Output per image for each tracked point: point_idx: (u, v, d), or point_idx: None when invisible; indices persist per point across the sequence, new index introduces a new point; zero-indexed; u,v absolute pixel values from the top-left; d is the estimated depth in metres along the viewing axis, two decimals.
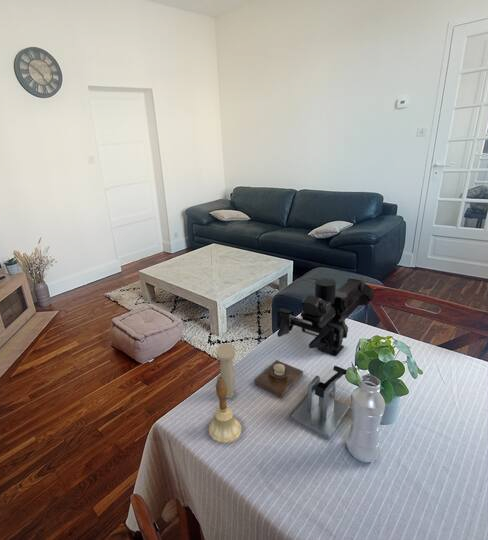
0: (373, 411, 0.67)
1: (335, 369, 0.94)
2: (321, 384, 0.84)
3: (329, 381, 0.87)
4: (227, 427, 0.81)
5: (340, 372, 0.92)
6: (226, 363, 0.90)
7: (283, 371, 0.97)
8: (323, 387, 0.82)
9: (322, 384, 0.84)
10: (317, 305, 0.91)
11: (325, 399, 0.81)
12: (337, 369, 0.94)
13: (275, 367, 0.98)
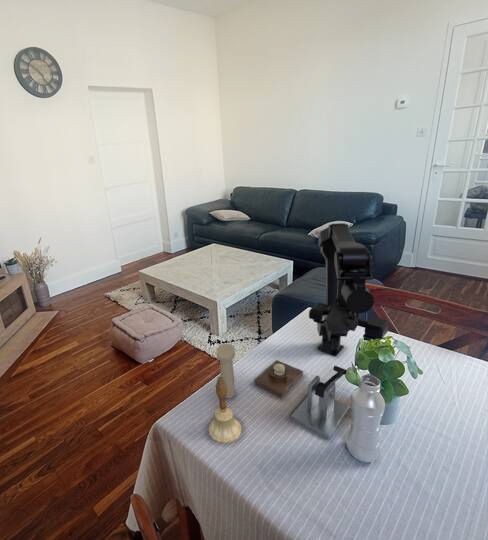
0: (373, 411, 0.67)
1: (335, 369, 0.94)
2: (321, 384, 0.84)
3: (329, 381, 0.87)
4: (227, 427, 0.81)
5: (340, 372, 0.92)
6: (226, 363, 0.90)
7: (283, 371, 0.97)
8: (323, 387, 0.82)
9: (322, 384, 0.84)
10: (345, 331, 0.81)
11: (325, 399, 0.81)
12: (337, 369, 0.94)
13: (275, 367, 0.98)
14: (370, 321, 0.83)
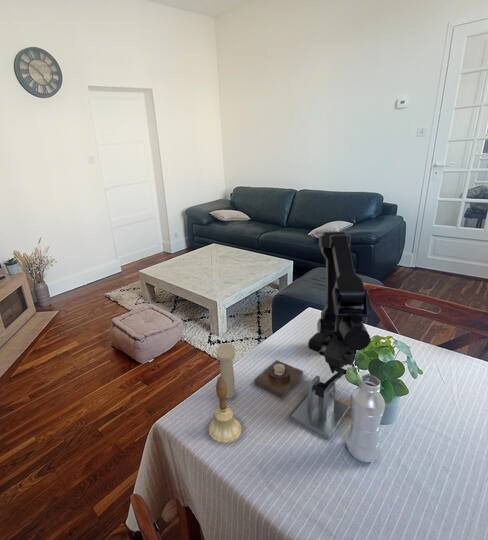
0: (373, 411, 0.67)
1: (335, 369, 0.94)
2: (321, 384, 0.84)
3: (329, 381, 0.87)
4: (227, 427, 0.81)
5: (340, 372, 0.92)
6: (226, 363, 0.90)
7: (283, 371, 0.97)
8: (323, 387, 0.82)
9: (322, 384, 0.84)
10: (342, 365, 0.85)
11: (325, 399, 0.81)
12: (337, 369, 0.94)
13: (275, 367, 0.98)
14: None
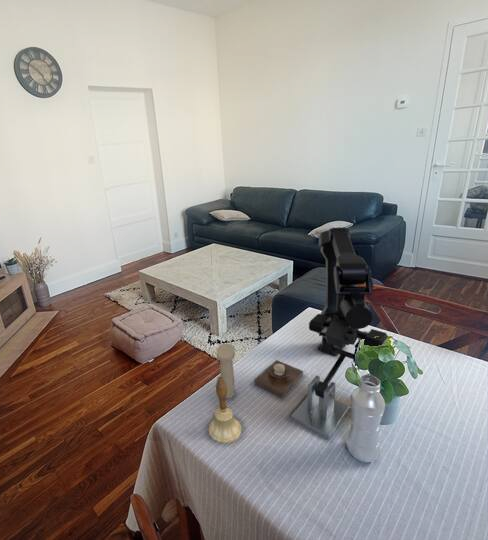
0: (373, 411, 0.67)
1: (336, 352, 0.92)
2: (320, 385, 0.83)
3: (329, 375, 0.86)
4: (227, 427, 0.81)
5: (341, 357, 0.90)
6: (226, 363, 0.90)
7: (283, 371, 0.97)
8: (322, 389, 0.82)
9: (321, 384, 0.83)
10: (344, 345, 0.83)
11: (325, 399, 0.81)
12: (338, 352, 0.92)
13: (275, 367, 0.98)
14: (369, 334, 0.84)
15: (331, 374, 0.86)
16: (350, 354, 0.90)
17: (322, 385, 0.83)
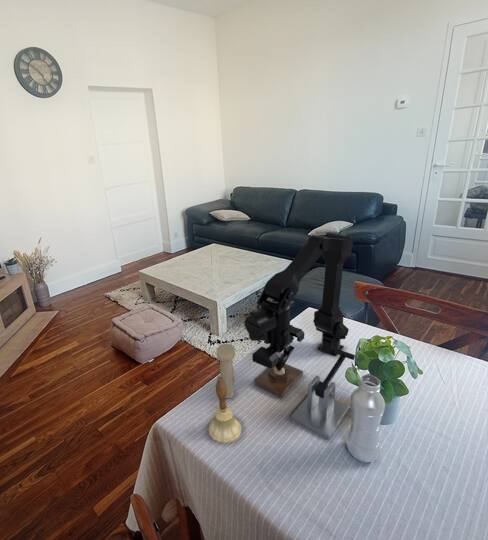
0: (373, 411, 0.67)
1: (336, 353, 0.92)
2: (320, 385, 0.83)
3: (329, 375, 0.86)
4: (227, 427, 0.81)
5: (341, 357, 0.90)
6: (226, 363, 0.90)
7: (283, 374, 0.97)
8: (322, 389, 0.82)
9: (321, 384, 0.83)
10: None
11: (325, 399, 0.81)
12: (338, 353, 0.92)
13: (275, 370, 0.98)
14: (265, 349, 0.91)
15: (331, 374, 0.86)
16: (350, 355, 0.90)
17: (322, 385, 0.83)
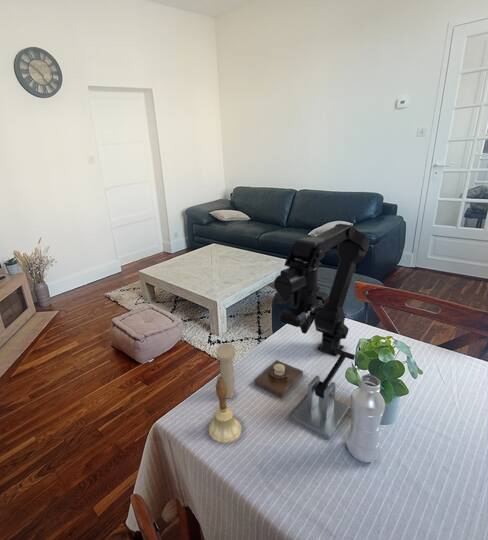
0: (373, 411, 0.67)
1: (336, 353, 0.92)
2: (320, 385, 0.83)
3: (329, 375, 0.86)
4: (227, 427, 0.81)
5: (341, 357, 0.90)
6: (226, 363, 0.90)
7: (283, 371, 0.97)
8: (322, 389, 0.82)
9: (321, 384, 0.83)
10: None
11: (325, 399, 0.81)
12: (338, 353, 0.92)
13: (275, 367, 0.98)
14: (292, 309, 0.92)
15: (331, 374, 0.86)
16: (350, 355, 0.90)
17: (322, 385, 0.83)
